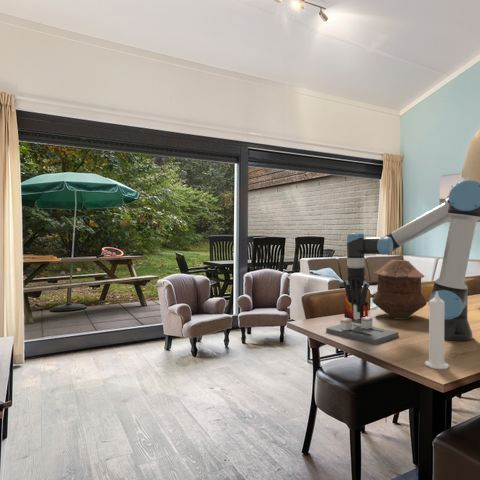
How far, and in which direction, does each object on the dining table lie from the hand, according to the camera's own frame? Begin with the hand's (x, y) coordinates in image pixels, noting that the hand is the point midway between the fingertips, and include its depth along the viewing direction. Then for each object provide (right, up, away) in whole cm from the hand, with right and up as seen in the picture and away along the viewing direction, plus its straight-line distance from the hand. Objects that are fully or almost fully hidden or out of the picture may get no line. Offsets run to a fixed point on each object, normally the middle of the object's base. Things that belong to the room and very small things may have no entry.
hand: (356, 318), depth 172 cm
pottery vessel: (+30, -5, +26) cm, 40 cm away
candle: (+13, -6, -45) cm, 48 cm away
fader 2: (+3, -3, -4) cm, 6 cm away
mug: (+8, -5, +23) cm, 25 cm away
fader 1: (-7, -3, -6) cm, 10 cm away
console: (0, -5, -7) cm, 9 cm away
